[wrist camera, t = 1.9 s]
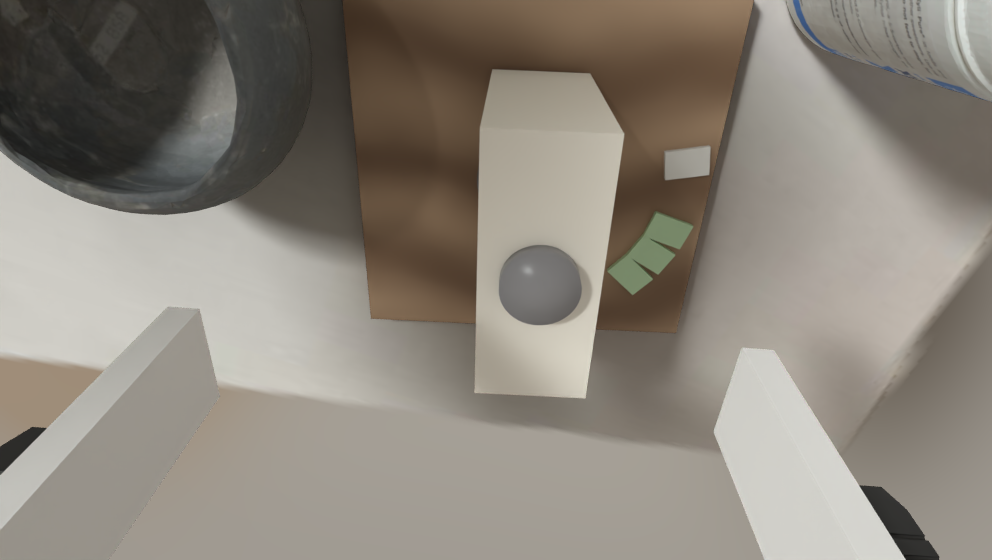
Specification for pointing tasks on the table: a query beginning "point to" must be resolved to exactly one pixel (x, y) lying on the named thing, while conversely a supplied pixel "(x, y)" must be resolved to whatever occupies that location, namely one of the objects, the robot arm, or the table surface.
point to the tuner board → (457, 118)
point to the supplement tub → (907, 37)
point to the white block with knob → (542, 230)
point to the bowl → (152, 97)
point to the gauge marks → (661, 225)
